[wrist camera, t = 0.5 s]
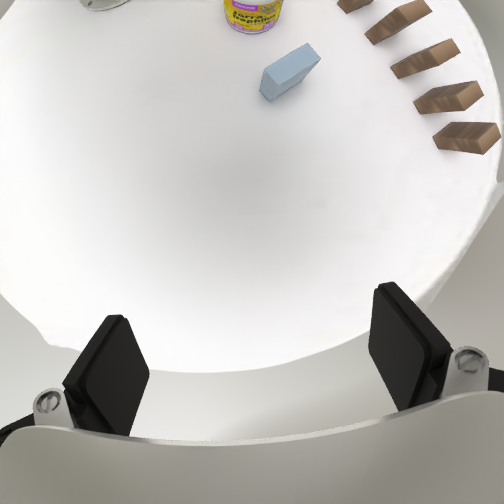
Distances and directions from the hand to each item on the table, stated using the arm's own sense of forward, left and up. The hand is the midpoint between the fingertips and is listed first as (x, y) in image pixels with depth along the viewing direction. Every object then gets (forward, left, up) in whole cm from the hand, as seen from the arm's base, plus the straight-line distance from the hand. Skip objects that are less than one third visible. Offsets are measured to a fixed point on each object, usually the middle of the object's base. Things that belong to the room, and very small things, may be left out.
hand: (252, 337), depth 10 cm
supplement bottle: (-23, +10, -27) cm, 37 cm away
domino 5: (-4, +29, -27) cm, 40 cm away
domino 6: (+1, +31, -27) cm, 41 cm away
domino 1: (-12, +9, -27) cm, 31 cm away
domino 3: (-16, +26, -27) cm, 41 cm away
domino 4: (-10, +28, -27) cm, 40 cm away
